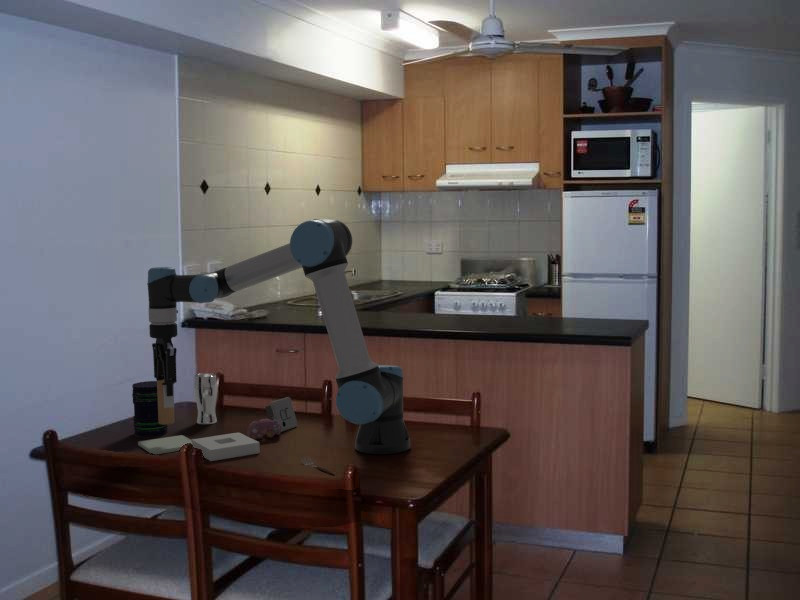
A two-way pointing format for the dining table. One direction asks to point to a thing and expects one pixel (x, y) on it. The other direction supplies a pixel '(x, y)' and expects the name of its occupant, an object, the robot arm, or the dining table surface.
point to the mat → (164, 444)
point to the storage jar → (146, 410)
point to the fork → (316, 466)
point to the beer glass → (206, 397)
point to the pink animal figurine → (264, 428)
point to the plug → (164, 414)
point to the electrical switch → (282, 413)
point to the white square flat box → (226, 446)
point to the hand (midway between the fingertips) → (166, 405)
